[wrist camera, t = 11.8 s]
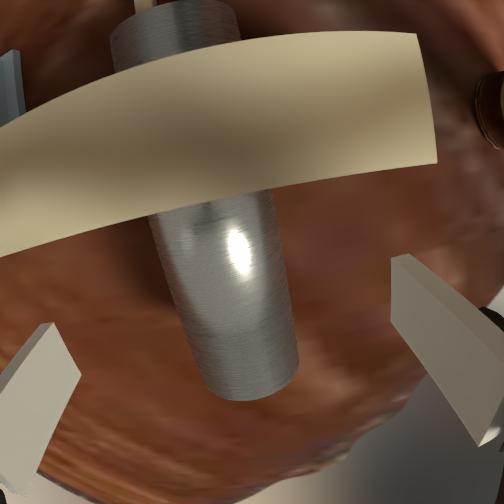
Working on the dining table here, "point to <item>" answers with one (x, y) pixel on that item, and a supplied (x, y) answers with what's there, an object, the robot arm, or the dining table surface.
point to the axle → (218, 235)
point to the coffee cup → (491, 107)
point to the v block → (11, 88)
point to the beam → (213, 130)
